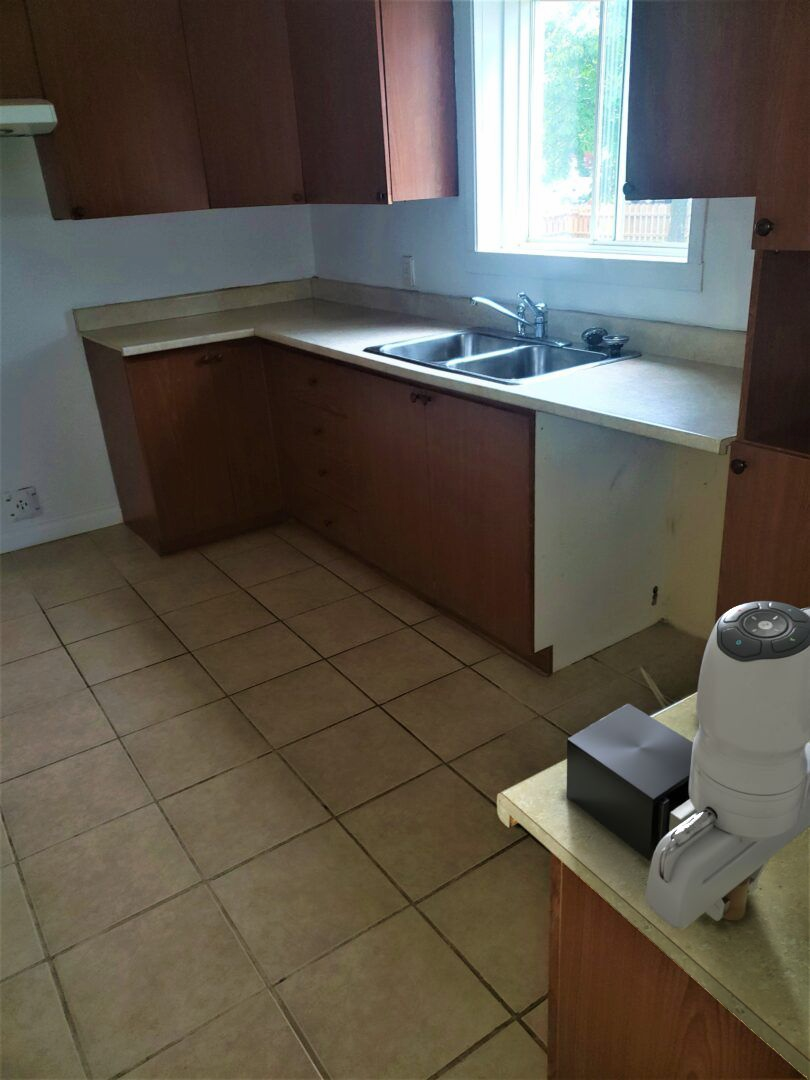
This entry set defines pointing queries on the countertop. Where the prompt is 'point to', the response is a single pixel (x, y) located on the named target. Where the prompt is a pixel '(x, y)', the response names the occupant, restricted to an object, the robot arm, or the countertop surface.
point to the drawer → (673, 811)
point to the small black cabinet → (626, 773)
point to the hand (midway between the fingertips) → (729, 900)
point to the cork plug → (738, 900)
